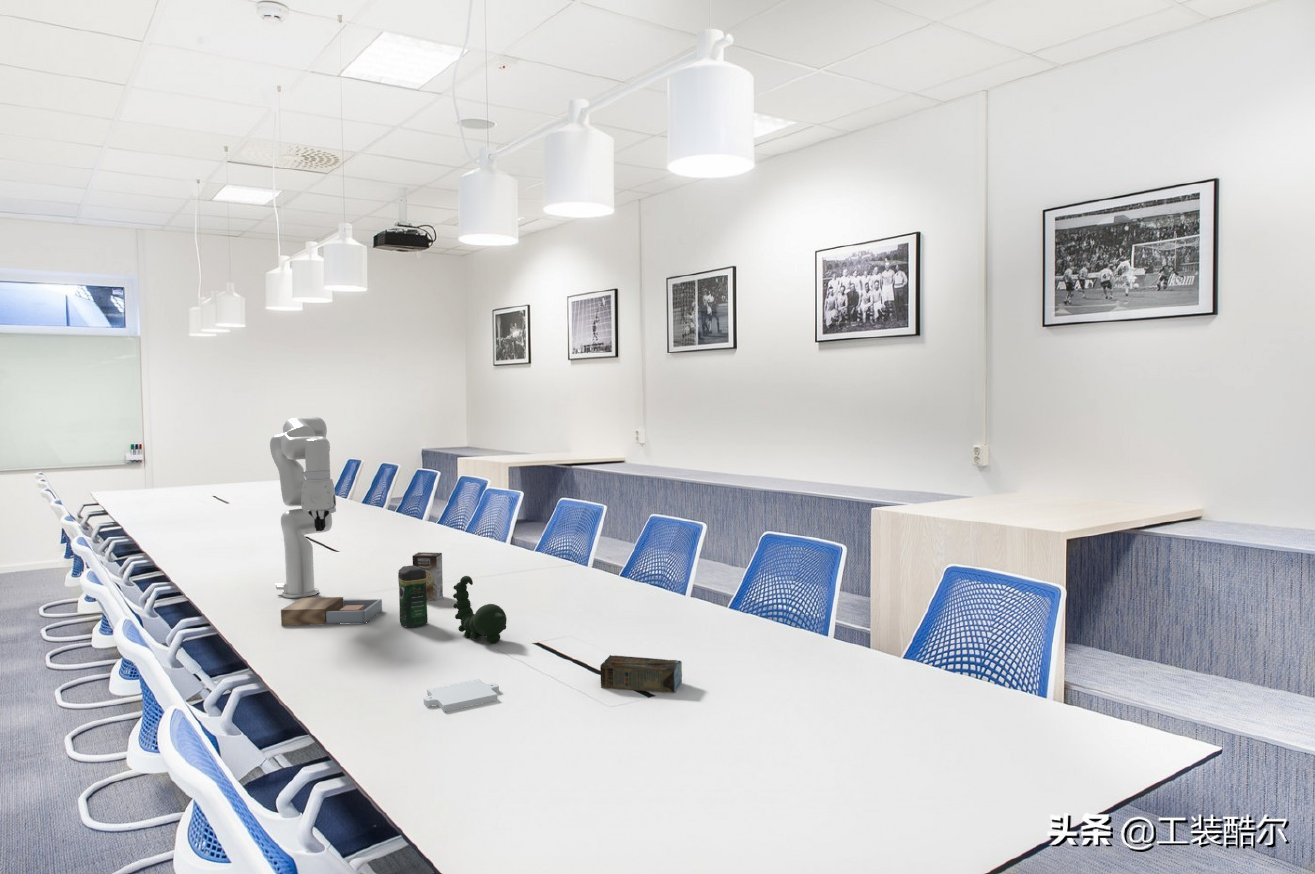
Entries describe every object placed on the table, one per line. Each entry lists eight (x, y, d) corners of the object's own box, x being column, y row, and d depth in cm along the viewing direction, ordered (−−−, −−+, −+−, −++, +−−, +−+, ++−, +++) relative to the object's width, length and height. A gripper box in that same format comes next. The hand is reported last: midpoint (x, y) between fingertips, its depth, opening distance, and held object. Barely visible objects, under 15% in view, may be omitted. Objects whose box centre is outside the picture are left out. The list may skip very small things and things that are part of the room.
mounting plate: (488, 684, 216) (488, 676, 216) (507, 699, 205) (507, 691, 205) (416, 698, 207) (416, 691, 206) (432, 715, 195) (432, 707, 195)
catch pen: (325, 624, 275) (324, 611, 275) (343, 611, 291) (343, 599, 291) (365, 623, 275) (365, 611, 275) (382, 610, 291) (381, 599, 291)
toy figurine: (448, 639, 261) (492, 649, 242) (443, 577, 261) (486, 582, 243) (475, 633, 267) (520, 642, 249) (470, 572, 267) (515, 576, 249)
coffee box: (412, 600, 305) (410, 555, 304) (419, 596, 311) (417, 552, 311) (437, 600, 304) (436, 555, 303) (444, 596, 310) (442, 552, 310)
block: (357, 609, 279) (358, 618, 279) (364, 604, 285) (364, 613, 285) (339, 609, 279) (339, 619, 279) (346, 605, 285) (346, 614, 285)
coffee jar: (431, 625, 271) (429, 567, 270) (406, 629, 267) (403, 570, 266) (421, 619, 279) (419, 562, 278) (397, 623, 275) (394, 565, 274)
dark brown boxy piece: (675, 694, 205) (674, 667, 205) (598, 689, 210) (598, 662, 210) (683, 683, 213) (682, 657, 213) (608, 678, 218) (608, 653, 217)
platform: (281, 625, 275) (280, 609, 275) (302, 612, 291) (301, 597, 291) (325, 624, 275) (324, 608, 275) (343, 611, 291) (343, 596, 291)
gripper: (290, 477, 282) (292, 532, 283) (336, 476, 281) (338, 532, 283) (300, 474, 289) (302, 528, 290) (344, 474, 289) (346, 528, 290)
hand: (320, 530), depth 287 cm, fingers closed
